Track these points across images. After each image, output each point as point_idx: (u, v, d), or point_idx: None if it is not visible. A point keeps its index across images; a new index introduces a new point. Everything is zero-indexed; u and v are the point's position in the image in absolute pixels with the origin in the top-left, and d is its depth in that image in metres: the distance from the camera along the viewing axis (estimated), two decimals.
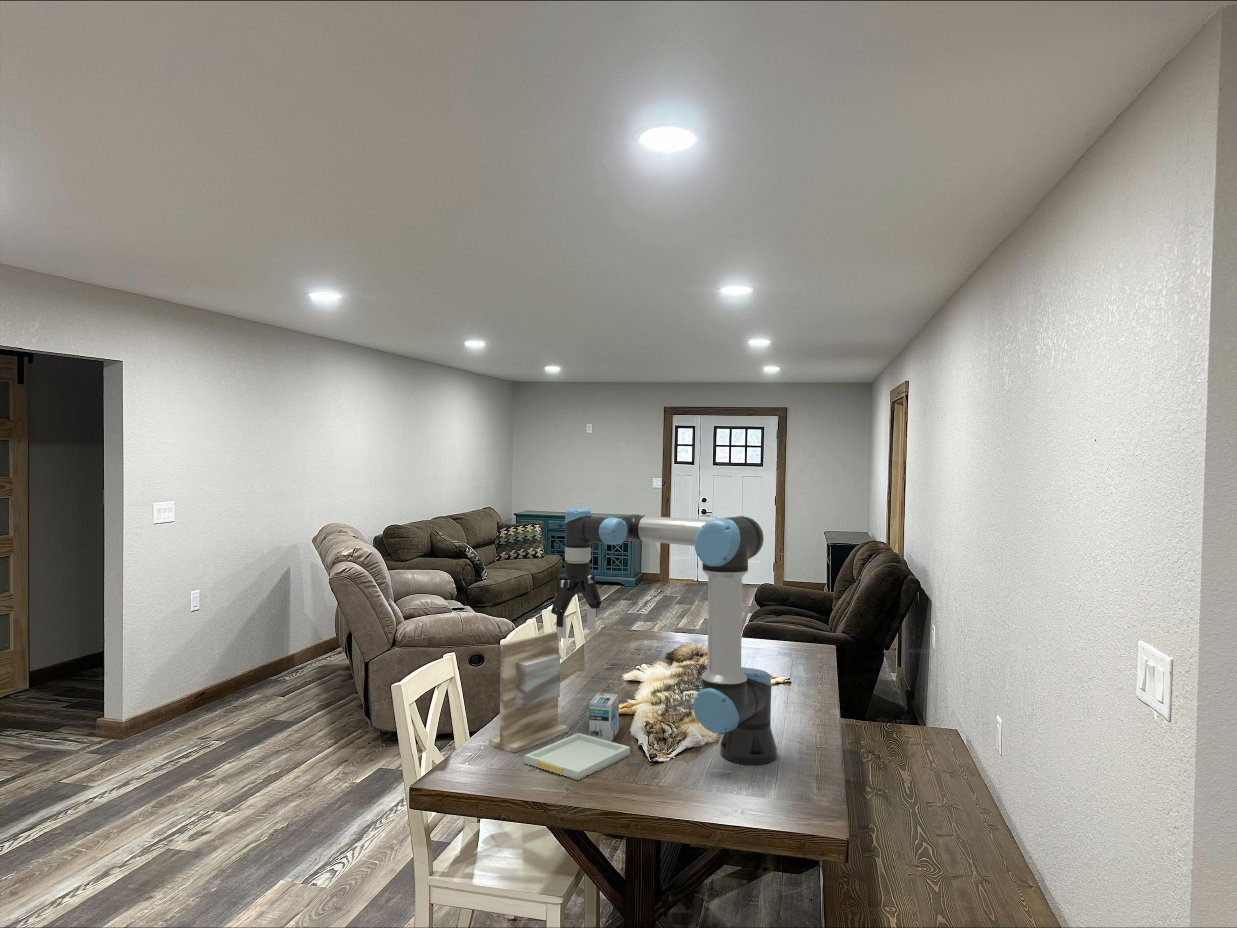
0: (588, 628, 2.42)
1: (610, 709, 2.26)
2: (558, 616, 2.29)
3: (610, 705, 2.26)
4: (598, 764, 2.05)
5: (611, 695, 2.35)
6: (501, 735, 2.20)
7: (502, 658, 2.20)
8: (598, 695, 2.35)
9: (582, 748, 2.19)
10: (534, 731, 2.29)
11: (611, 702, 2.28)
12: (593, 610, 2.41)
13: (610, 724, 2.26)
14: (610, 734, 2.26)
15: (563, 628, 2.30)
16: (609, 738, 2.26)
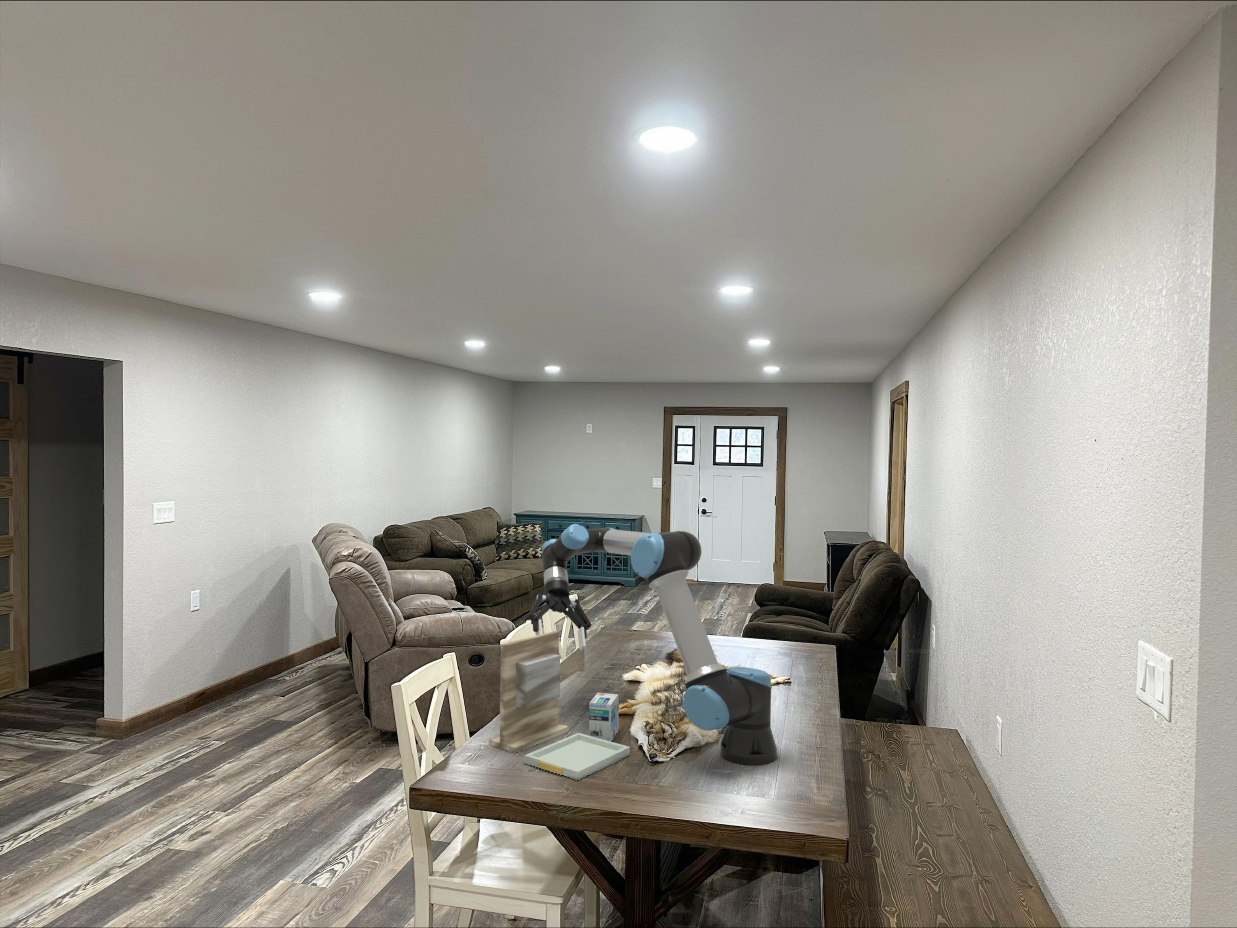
0: (580, 648, 2.42)
1: (610, 709, 2.26)
2: (533, 621, 2.39)
3: (610, 705, 2.26)
4: (598, 764, 2.05)
5: (611, 695, 2.35)
6: (501, 735, 2.20)
7: (502, 658, 2.20)
8: (598, 695, 2.35)
9: (582, 748, 2.19)
10: (534, 731, 2.29)
11: (611, 702, 2.28)
12: (581, 628, 2.44)
13: (610, 724, 2.26)
14: (610, 734, 2.26)
15: (539, 630, 2.36)
16: (609, 738, 2.26)
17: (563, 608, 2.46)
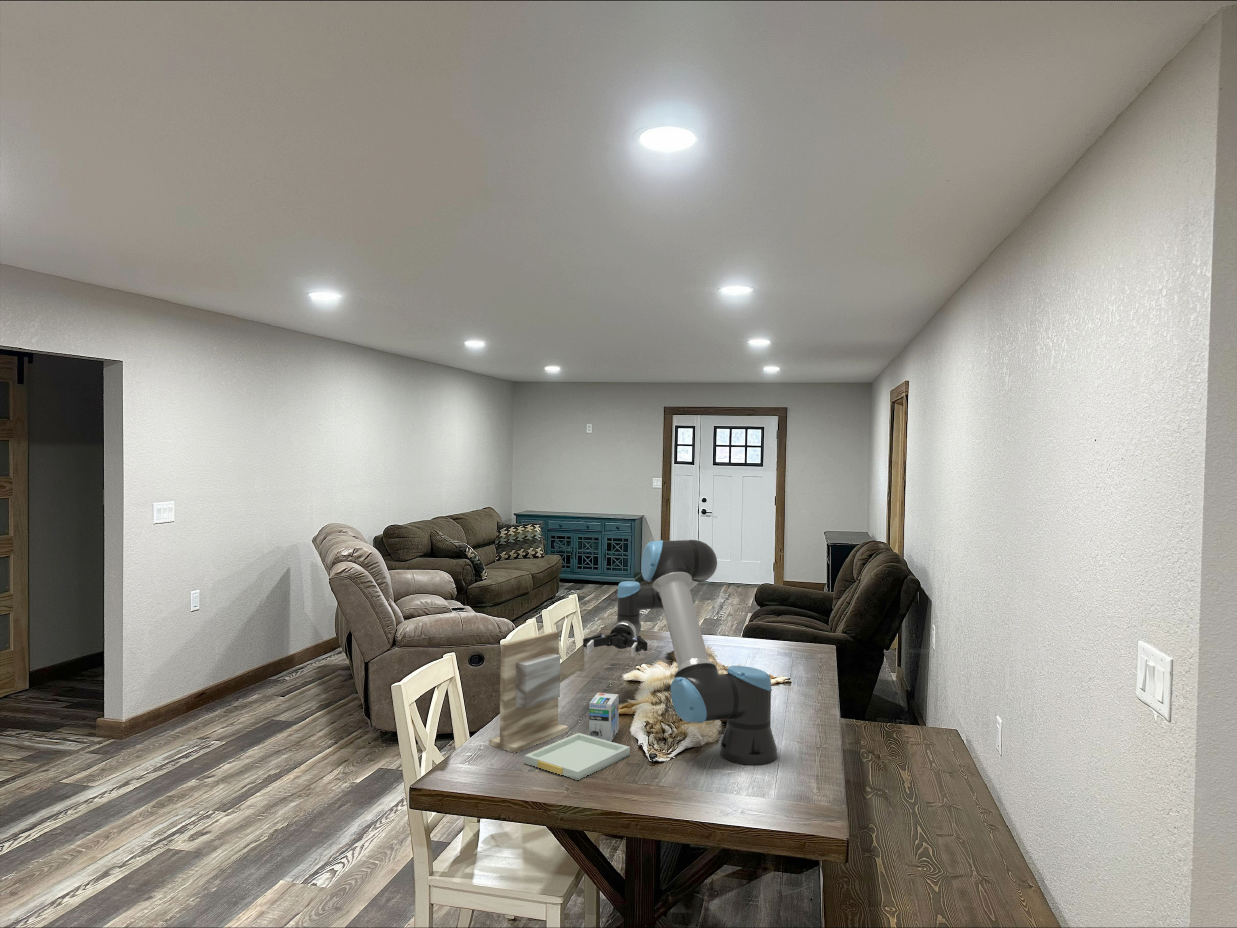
0: (631, 654, 2.41)
1: (610, 709, 2.26)
2: (587, 643, 2.49)
3: (610, 705, 2.26)
4: (598, 764, 2.05)
5: (611, 695, 2.35)
6: (501, 735, 2.20)
7: (502, 658, 2.20)
8: (598, 695, 2.35)
9: (582, 748, 2.19)
10: (534, 731, 2.29)
11: (611, 702, 2.28)
12: None
13: (610, 724, 2.26)
14: (610, 734, 2.26)
15: None
16: (609, 738, 2.26)
17: (621, 638, 2.53)
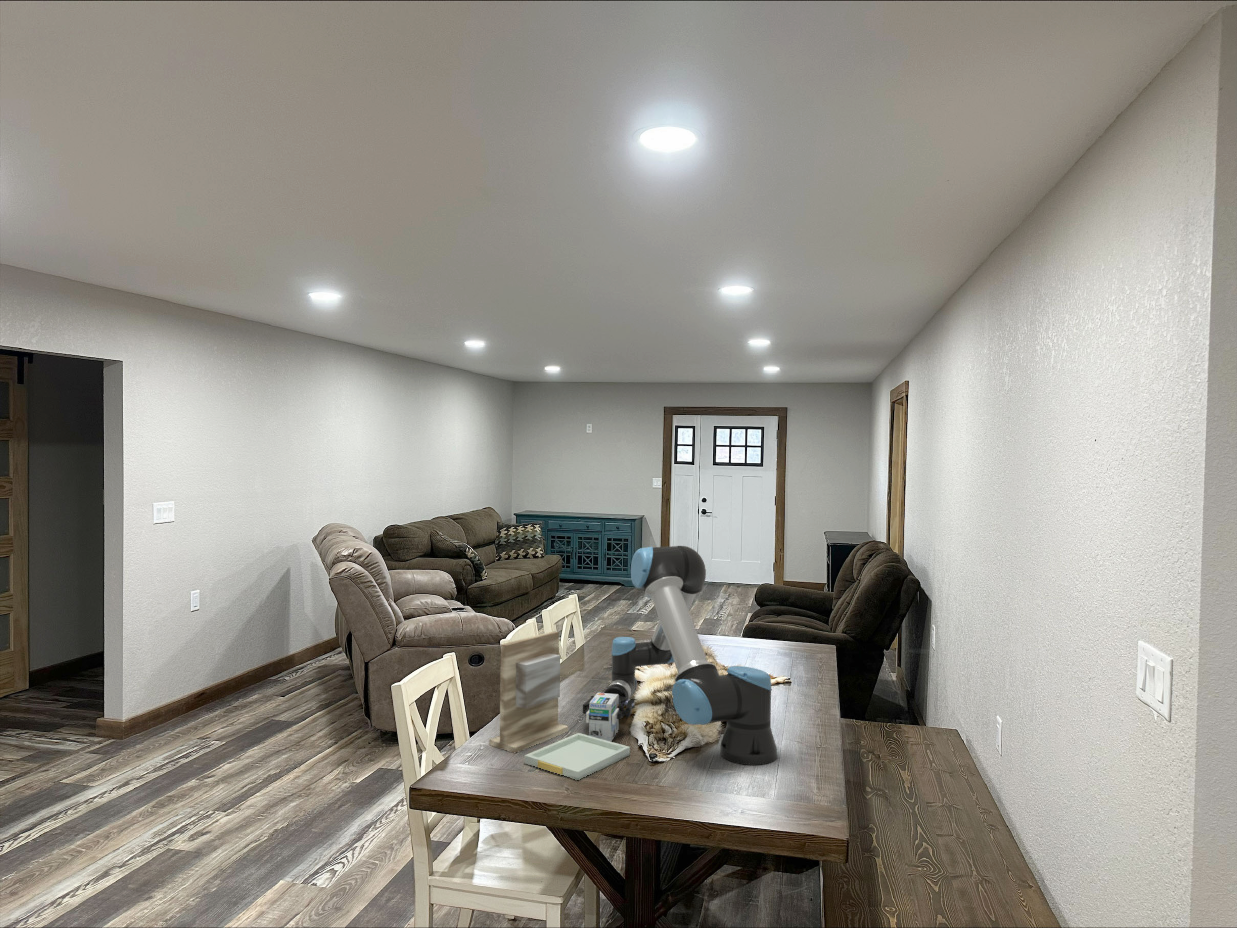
0: None
1: (610, 709, 2.26)
2: (587, 709, 2.34)
3: (610, 705, 2.26)
4: (598, 764, 2.05)
5: (611, 695, 2.35)
6: (501, 735, 2.20)
7: (502, 658, 2.20)
8: (598, 695, 2.35)
9: (582, 748, 2.19)
10: (534, 731, 2.29)
11: (611, 702, 2.28)
12: None
13: (610, 724, 2.26)
14: (610, 734, 2.26)
15: None
16: (609, 738, 2.26)
17: None
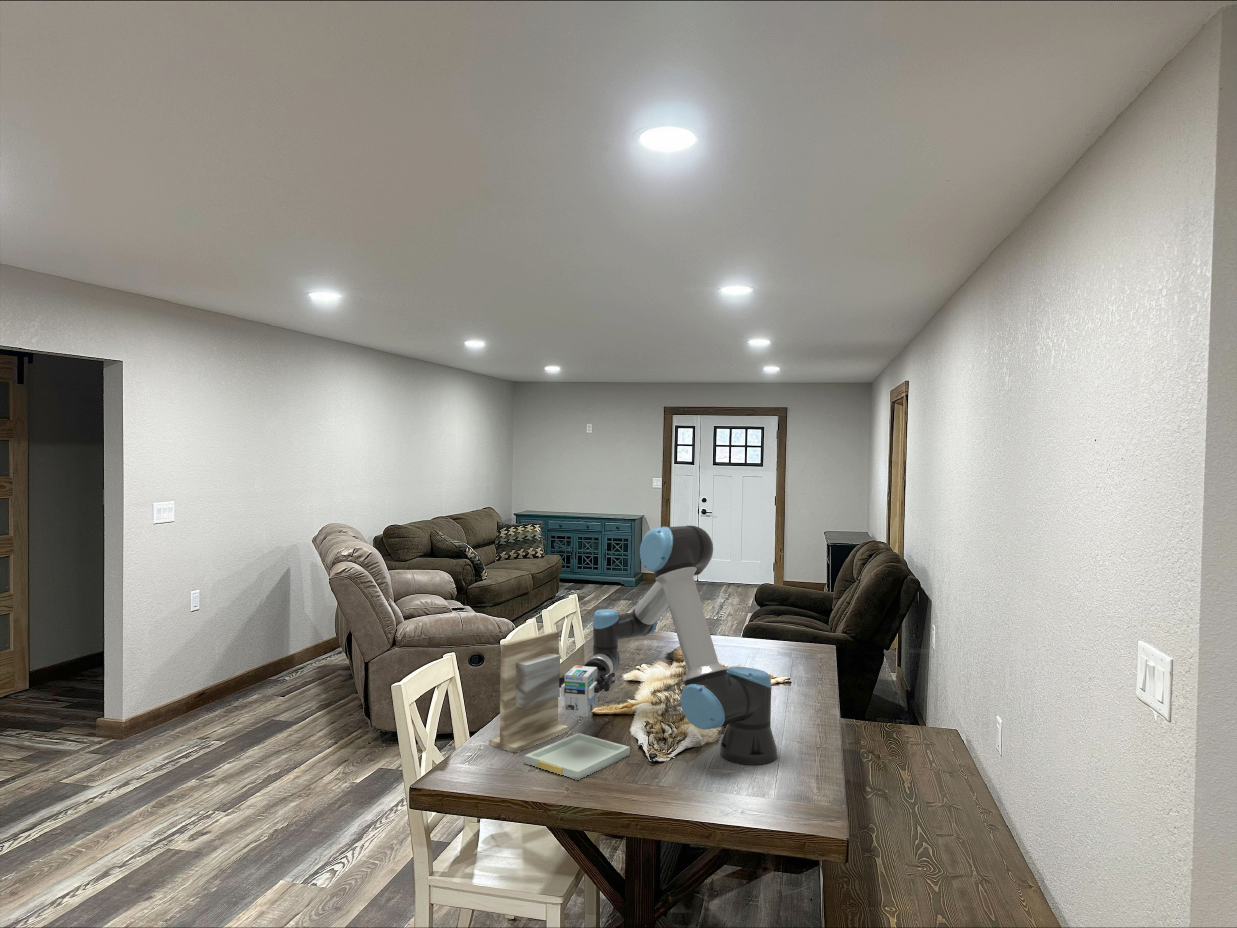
0: None
1: (586, 681, 2.12)
2: (563, 683, 2.20)
3: (586, 677, 2.12)
4: (598, 764, 2.05)
5: (589, 668, 2.21)
6: (501, 735, 2.20)
7: (502, 658, 2.20)
8: (575, 668, 2.20)
9: (582, 748, 2.19)
10: (534, 731, 2.29)
11: (588, 674, 2.14)
12: None
13: (586, 697, 2.12)
14: (586, 708, 2.12)
15: None
16: (585, 712, 2.12)
17: None
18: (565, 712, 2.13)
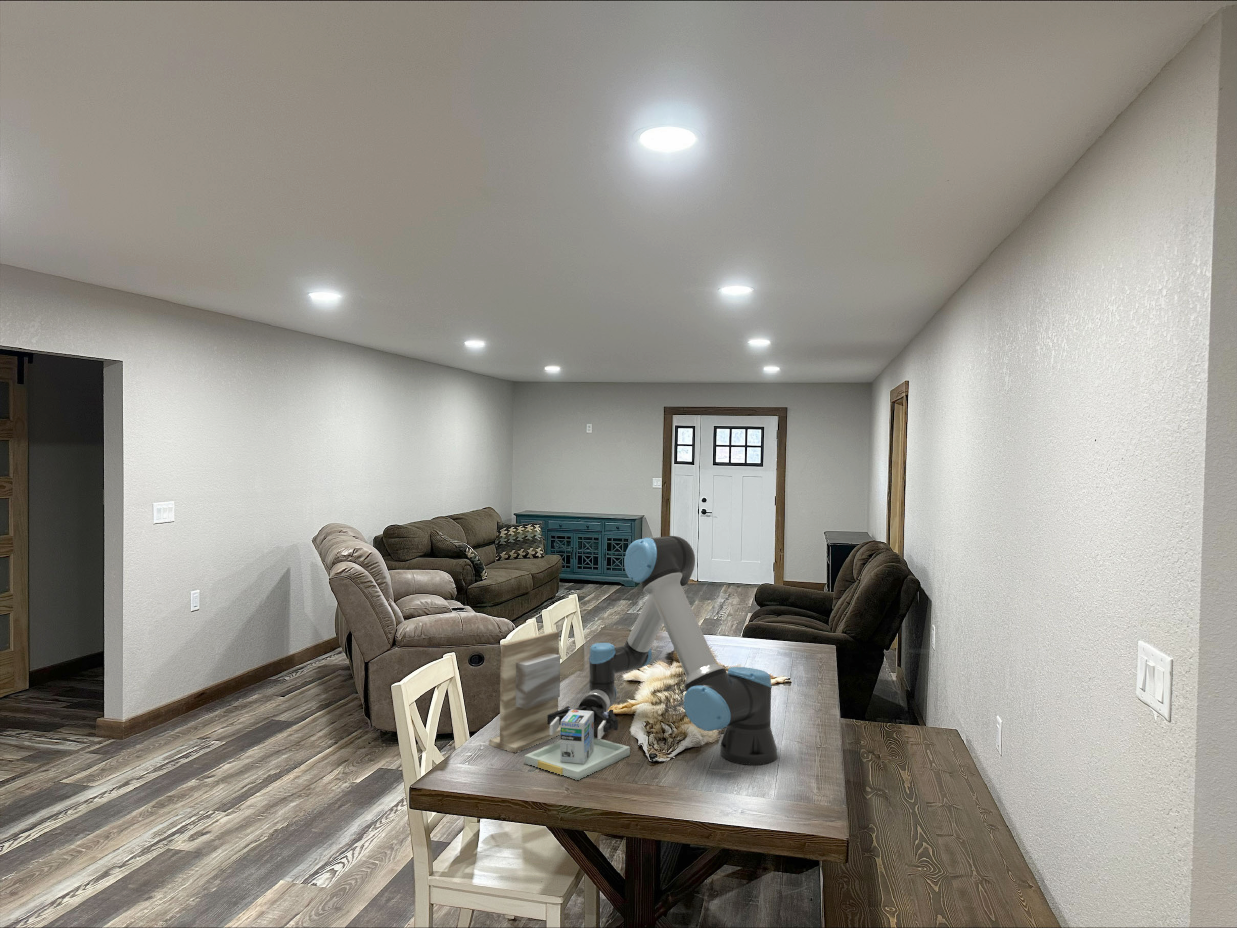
0: None
1: (583, 728, 2.08)
2: None
3: (583, 724, 2.08)
4: (598, 764, 2.05)
5: (585, 712, 2.16)
6: (501, 735, 2.20)
7: (502, 658, 2.20)
8: (571, 712, 2.16)
9: None
10: (534, 731, 2.29)
11: (584, 720, 2.10)
12: None
13: (583, 744, 2.08)
14: (583, 755, 2.08)
15: None
16: (582, 760, 2.08)
17: None
18: (561, 759, 2.09)
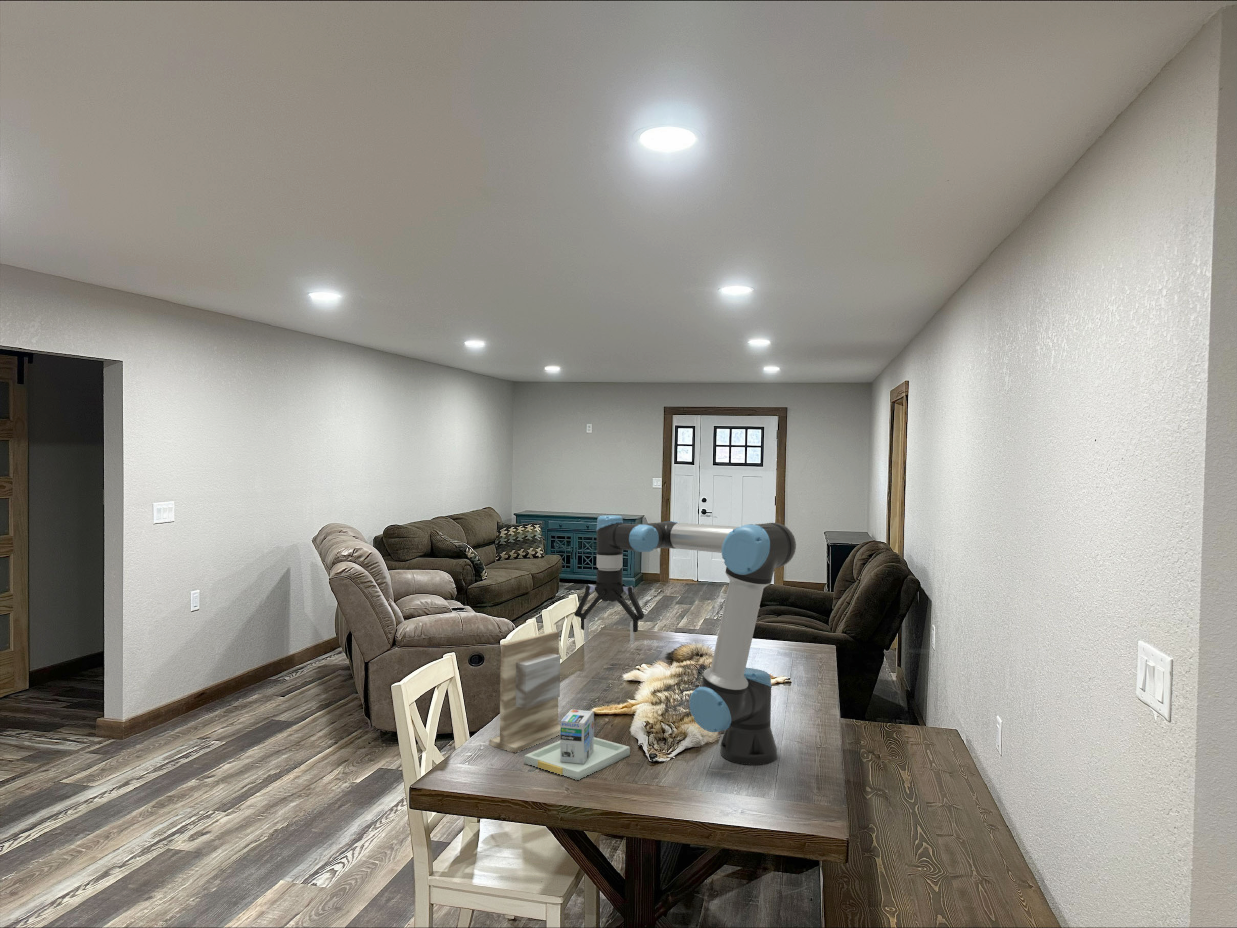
0: None
1: (583, 728, 2.08)
2: None
3: (583, 724, 2.08)
4: (598, 764, 2.05)
5: (585, 712, 2.16)
6: (501, 735, 2.20)
7: (502, 658, 2.20)
8: (571, 712, 2.16)
9: None
10: (534, 731, 2.29)
11: (584, 720, 2.10)
12: (630, 622, 2.31)
13: (583, 744, 2.08)
14: (583, 755, 2.08)
15: None
16: (582, 760, 2.08)
17: (612, 600, 2.32)
18: (561, 759, 2.09)
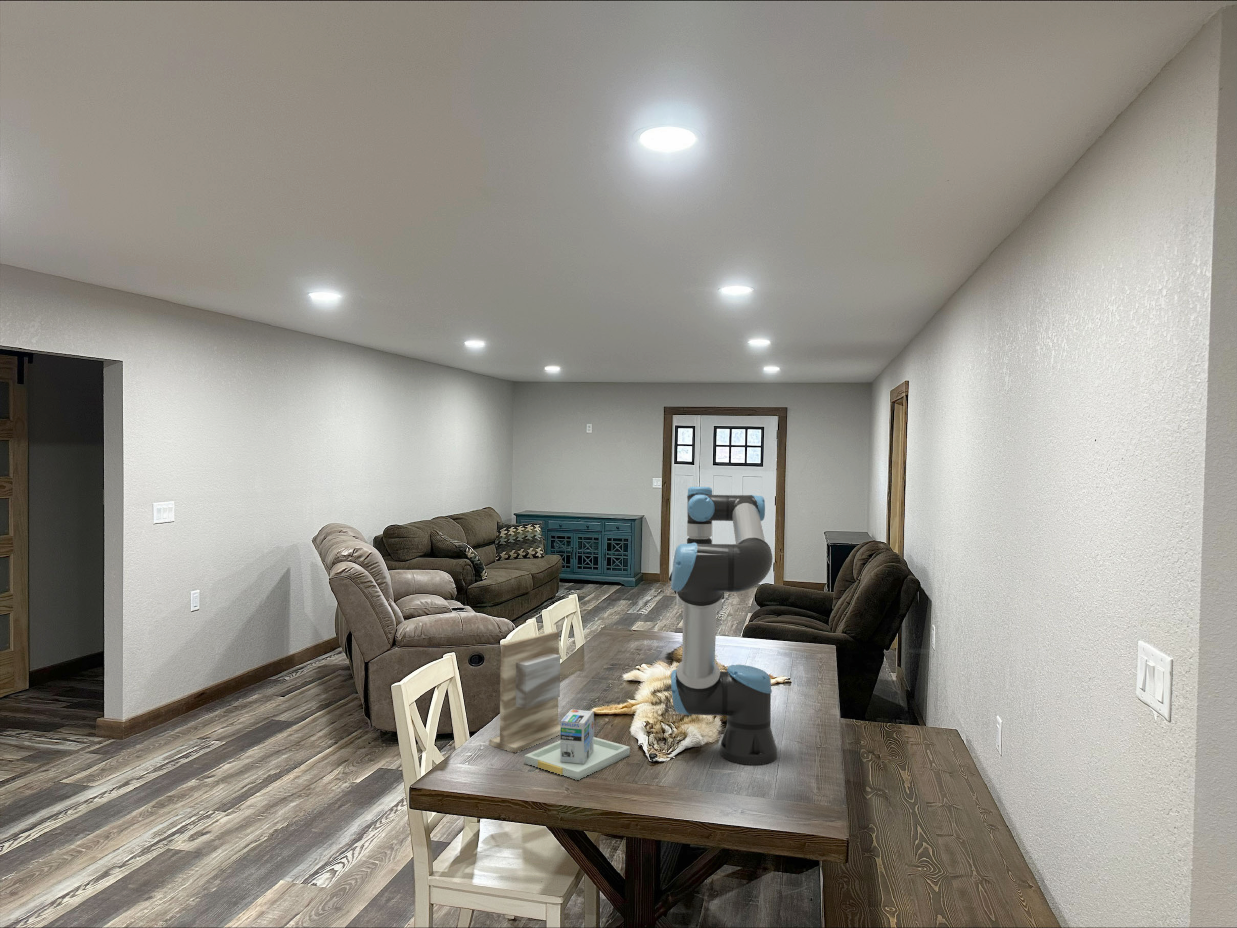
0: None
1: (583, 728, 2.08)
2: None
3: (583, 724, 2.08)
4: (598, 764, 2.05)
5: (585, 712, 2.16)
6: (501, 735, 2.20)
7: (502, 658, 2.20)
8: (571, 712, 2.16)
9: None
10: (534, 731, 2.29)
11: (584, 720, 2.10)
12: None
13: (583, 744, 2.08)
14: (583, 755, 2.08)
15: None
16: (582, 760, 2.08)
17: None
18: (561, 759, 2.09)
